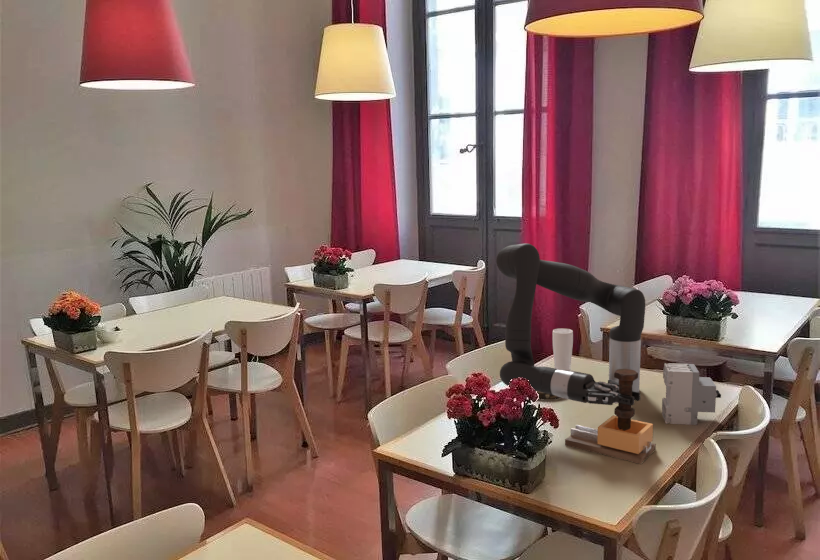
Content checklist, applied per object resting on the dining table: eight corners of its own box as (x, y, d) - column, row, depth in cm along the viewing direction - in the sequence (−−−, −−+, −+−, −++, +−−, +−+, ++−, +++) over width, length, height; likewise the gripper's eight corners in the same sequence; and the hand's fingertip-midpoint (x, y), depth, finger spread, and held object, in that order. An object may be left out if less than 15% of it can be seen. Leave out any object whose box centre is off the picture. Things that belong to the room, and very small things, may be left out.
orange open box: (612, 431, 182) (612, 415, 182) (652, 440, 176) (653, 423, 175) (597, 444, 175) (597, 427, 174) (638, 454, 169) (639, 436, 168)
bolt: (608, 426, 176) (610, 369, 174) (624, 423, 178) (626, 366, 176) (623, 434, 171) (626, 376, 168) (639, 431, 173) (642, 373, 170)
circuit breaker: (721, 425, 189) (723, 373, 187) (665, 423, 192) (667, 371, 190) (714, 415, 197) (717, 364, 194) (661, 413, 200) (663, 363, 197)
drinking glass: (552, 376, 235) (552, 333, 233) (552, 370, 242) (552, 328, 239) (573, 376, 234) (573, 333, 231) (572, 370, 241) (572, 328, 238)
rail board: (581, 432, 188) (581, 426, 188) (655, 449, 176) (655, 444, 176) (565, 444, 181) (565, 439, 180) (640, 464, 168) (641, 458, 168)
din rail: (576, 430, 186) (576, 424, 185) (651, 448, 173) (651, 441, 173) (570, 435, 183) (570, 428, 183) (646, 453, 171) (646, 446, 170)
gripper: (560, 378, 176) (626, 392, 165) (584, 364, 187) (648, 376, 176) (559, 406, 177) (625, 422, 167) (583, 391, 188) (646, 405, 178)
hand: (636, 398), depth 171 cm, fingers closed on bolt, 3 cm apart
